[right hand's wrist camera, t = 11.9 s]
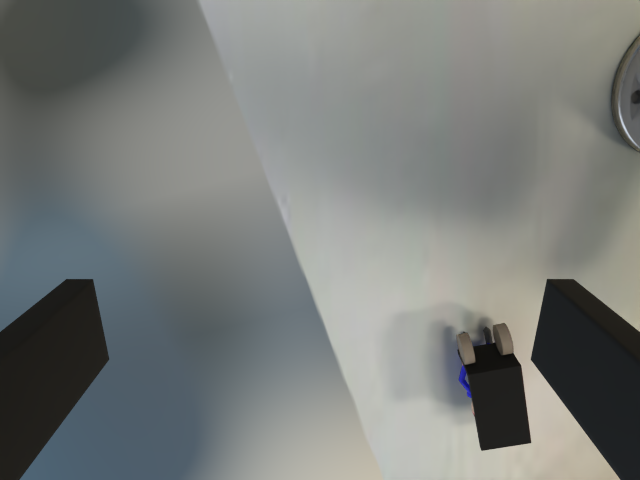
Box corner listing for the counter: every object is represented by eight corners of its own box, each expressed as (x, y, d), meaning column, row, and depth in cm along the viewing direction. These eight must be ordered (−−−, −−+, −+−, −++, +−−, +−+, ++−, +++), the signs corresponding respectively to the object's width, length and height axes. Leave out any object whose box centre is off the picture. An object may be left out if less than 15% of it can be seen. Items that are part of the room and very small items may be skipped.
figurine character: (442, 319, 56) (464, 417, 60) (458, 347, 49) (482, 457, 52) (494, 307, 56) (513, 406, 59) (518, 334, 48) (538, 446, 52)
